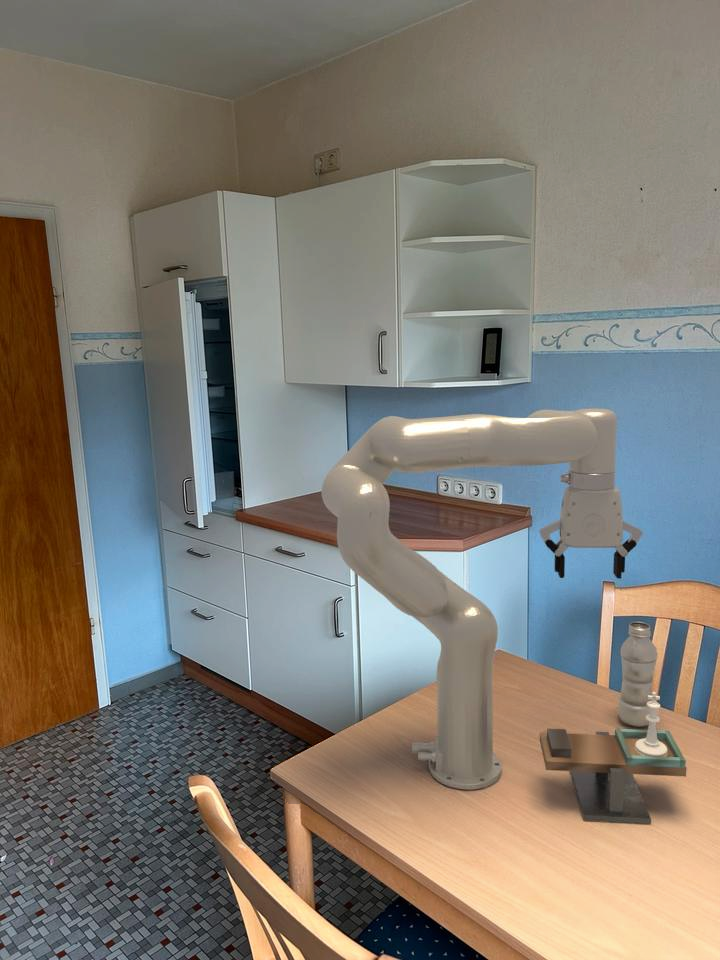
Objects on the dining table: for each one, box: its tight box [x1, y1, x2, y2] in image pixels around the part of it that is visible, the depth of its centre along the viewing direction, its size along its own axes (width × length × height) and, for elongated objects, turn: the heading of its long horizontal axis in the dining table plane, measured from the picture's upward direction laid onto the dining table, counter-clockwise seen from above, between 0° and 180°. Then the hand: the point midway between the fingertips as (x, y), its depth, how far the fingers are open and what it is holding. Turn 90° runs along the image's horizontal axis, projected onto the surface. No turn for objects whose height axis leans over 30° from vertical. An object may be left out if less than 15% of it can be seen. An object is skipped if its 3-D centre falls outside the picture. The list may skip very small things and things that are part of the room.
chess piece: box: [635, 691, 668, 757], centre depth 114 cm, size 5×5×10 cm
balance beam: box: [539, 728, 687, 777], centre depth 116 cm, size 21×9×4 cm, turn 83°
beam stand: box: [569, 731, 652, 825], centre depth 117 cm, size 10×13×8 cm
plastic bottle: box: [617, 621, 658, 728], centre depth 138 cm, size 6×7×20 cm
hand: (588, 575), depth 127 cm, fingers open, 9 cm apart
